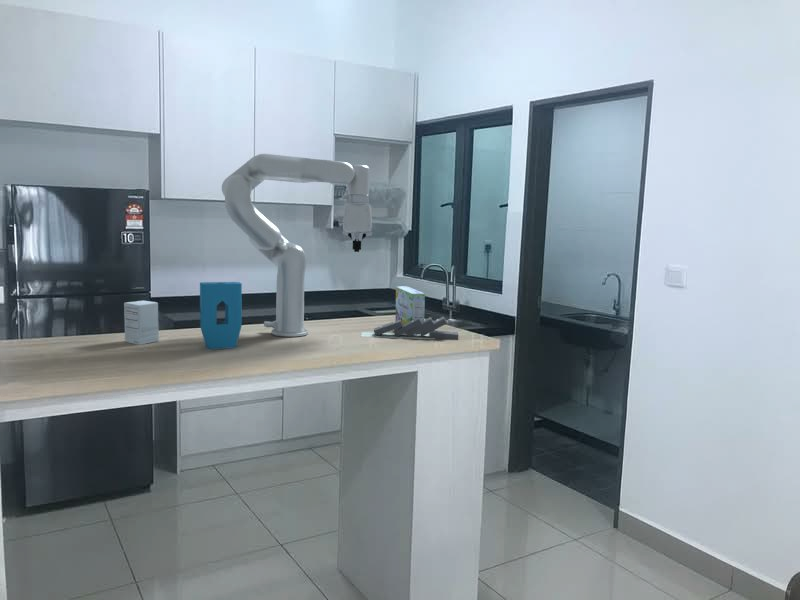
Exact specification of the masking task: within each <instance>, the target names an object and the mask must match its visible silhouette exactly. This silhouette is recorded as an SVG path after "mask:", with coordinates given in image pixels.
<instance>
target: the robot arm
mask: <svg viewBox="0 0 800 600" xmlns="http://www.w3.org/2000/svg"><path fill="white" fill-rule="evenodd" d="M370 173H371V172H370V167H369V166H368V165H363V164H350V163H349V162H346V161H339V160H328V159H317V158H316V159H315V158H310V157H309V158H308V157H299V156H290V155H281V154H279V155H278V154H271V153H260V154H257V155H254V156H252V157H251V158H250V159H249V160H247V161H246V162H245V163H244V164H242V165H241V166H240V167H238V169H236V170H235V171H234V172H232V173H231V174H230V175H228V176H227V177H226V178H225V179H224V180H223V181H222V184H221V192H222V195H223V196H224V205H225V209H226V212H227V214H228V216H229V218H230V220H231V221H232V222H233V223H234V224H235V225H236V226H237V227H238V228H239V229H241V231H242V232H243V233H244V234H245V235H247V236H248V240H249V241H250V243H251V245H252V246H253V247H254V248H255V249H256V250H257V251H259V252H260V253H261V254H263V256H264V257H266V259H268V260H269V261H270V262H271V263H273V264H274V265H275V266H276V267H277V273H276V274H277V275H276V288H275V289H276V295H275V296H276V297H275V298H276V303H275V305H276V307H275V308H276V309H275V310H276V311H275V312H276V314H275V315H276V316H275V317H276V318H275V320H273V321H263V325H264V327H265V328H272V330H271V335H274V336H276V337H287V338H288V337H291V338H292V337H303V336H307V335H308V334H309V330H308V329H306V328H304V327H305V324H304V323H305V322H304V321H305V320H304V319H305V317H304V316H305V278H306V268H307V255H306V253H305V251H304V249H303V248H302V247H301V246H300V245H299V244H296V243H292V242H290V241H289V240H287V239H286V238H285V237H284V235H282V233H281V231H280V229H279V228H278V226H277V225H275V224H274V223H273V222H271V221H270V219H268V218H267V217H266V216H265V215H263V213H262V212H260V211H259V210H258V208H256V206H255V205H254V204H253V202H252V199H251V196H252V195H251V194H252V191H253V190H254V189H256V188H257V187H258V186H259V185H260V184H261V183H263V182H264V181H265V180H267V181H276V182H278V181H279V182H288V183H299V184H300V183H301V184H302V183H303V184H304V183H305V184H306V183H328V184H331V185H333V186H334V185H335V186H342V185H347V195H346V196H343V201H345V202H347V203H344V209H343V216H342V217H343V219H342V235H343V236H348V237H349V238H350V239H351V241H352V250H353V252H354V253H359V252H360V250H362V241H363V239H365V238H366V237H371V236H372V235H373V232H372V231H373V230H372V229H373V221H372V219H373V217H372V205H371V204H370V200H369V199H370V197H369V196H370ZM356 233H359V235H358V239H357V237H356Z"/></svg>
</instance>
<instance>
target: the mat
mask: <svg viewBox="0 0 800 600" xmlns="http://www.w3.org/2000/svg"><path fill="white" fill-rule="evenodd" d="M360 337H361V338H365V337H366V338H392V339H414V340H415V339H417V340H418V339H420V340H436V338H430V337H429V334H426V335H424V336H421V335H420V333H416V334H414V335H412V336H410V337H408V336H407V334H406V333H403V334H401V335H399V336H397V337H396V335H395V333H394V332H393V333H391V332H390V333H389V332H386V333H383V334H380V335H377V336H375V333H374V332H371V331H370V332H369V331H367V332H366V331H362V332H361V335H360Z"/></svg>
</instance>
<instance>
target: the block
mask: <svg viewBox="0 0 800 600" xmlns="http://www.w3.org/2000/svg"><path fill="white" fill-rule="evenodd" d="M242 285H243V283H242V282H240V281H220V282H219V281H215V282H214V281H212V282H211V281H210V282H209V281H207V282H206V281H205V282H199V326H200V331H201V334H202V337H203V342H204V344H205V347H206V348H207V349H208V350H216V349H234V348H236V347H237V344H238V340H239V337H240V334H241V330H242V321H243V320H242V315H243V314H242V313H243V311H242V306H243V305H242V302H243V301H242V299H243V298H242V297H243V296H242V293H243V291H242V288H243V286H242ZM221 302H223V303H224V314H225V315H224V321H222V323H218V322H217V321H218V319H217V317H218V316H217V313H218V312H217V311H218V309H217V307H218V305H220V303H221Z"/></svg>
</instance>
